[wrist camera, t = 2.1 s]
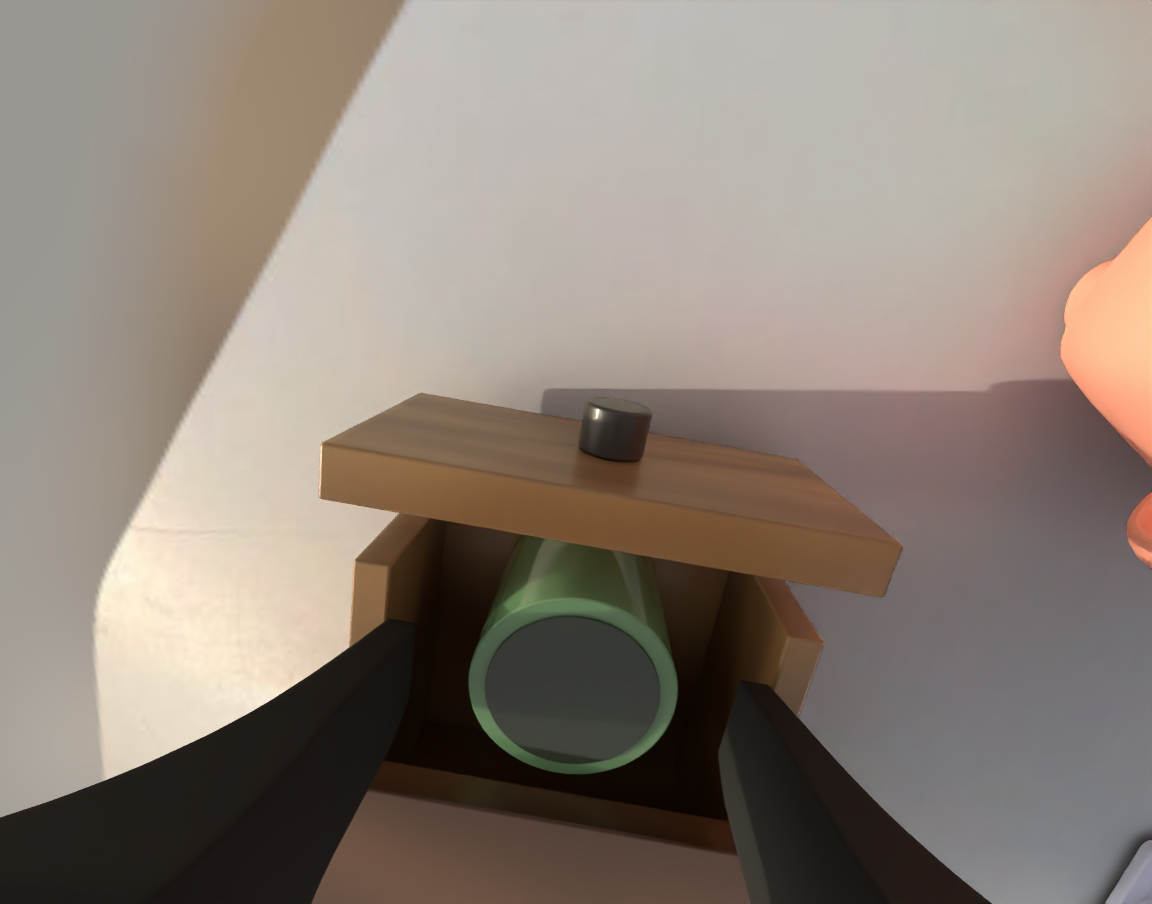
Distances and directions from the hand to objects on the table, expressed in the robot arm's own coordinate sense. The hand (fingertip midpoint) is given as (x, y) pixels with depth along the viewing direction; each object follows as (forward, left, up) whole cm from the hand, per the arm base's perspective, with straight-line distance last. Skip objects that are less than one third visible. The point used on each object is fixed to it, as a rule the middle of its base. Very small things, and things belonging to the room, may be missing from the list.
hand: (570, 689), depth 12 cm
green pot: (0, 0, -4) cm, 4 cm away
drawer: (0, 0, -6) cm, 6 cm away
